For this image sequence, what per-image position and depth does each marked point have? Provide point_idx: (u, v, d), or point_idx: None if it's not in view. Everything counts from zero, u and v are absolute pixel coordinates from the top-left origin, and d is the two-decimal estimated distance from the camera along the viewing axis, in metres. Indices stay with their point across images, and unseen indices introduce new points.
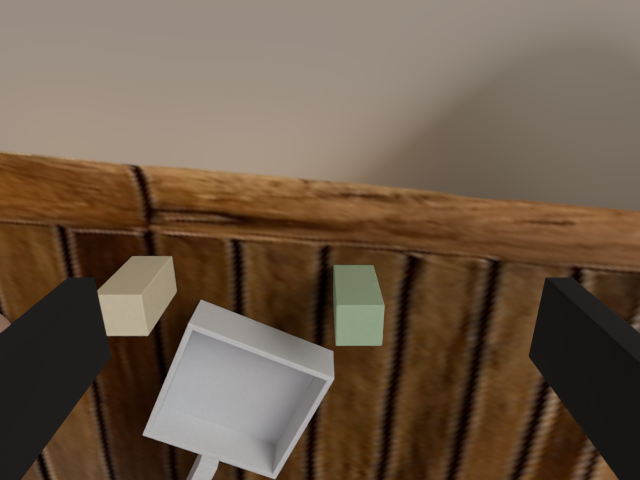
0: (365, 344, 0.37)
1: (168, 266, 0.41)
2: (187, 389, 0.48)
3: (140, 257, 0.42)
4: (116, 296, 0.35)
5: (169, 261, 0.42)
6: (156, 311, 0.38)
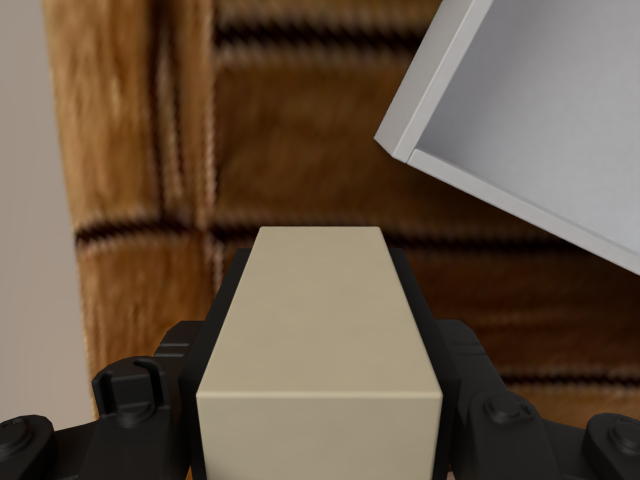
0: None
1: (271, 241, 0.13)
2: (618, 195, 0.19)
3: None
4: None
5: (259, 237, 0.13)
6: (365, 318, 0.09)
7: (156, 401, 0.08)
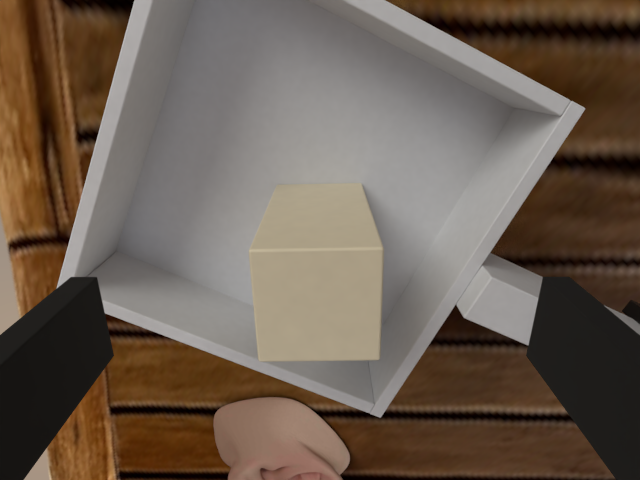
0: None
1: (284, 191, 0.19)
2: None
3: None
4: (258, 311, 0.13)
5: (276, 189, 0.19)
6: (344, 222, 0.15)
7: None
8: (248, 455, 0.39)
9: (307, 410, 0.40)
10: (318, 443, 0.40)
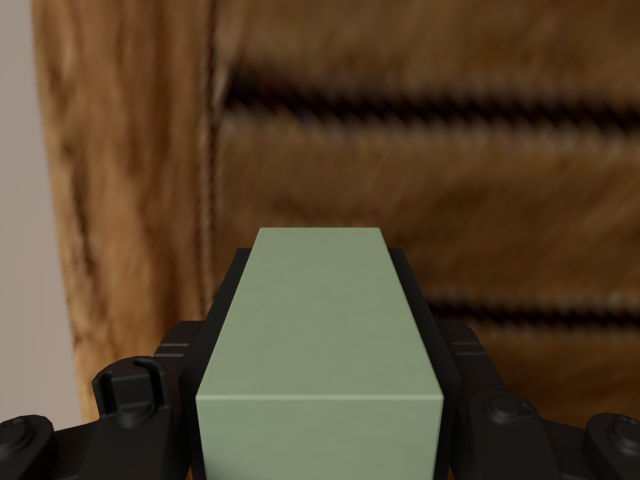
0: (427, 464, 0.07)
1: None
2: None
3: None
4: None
5: None
6: None
7: (156, 401, 0.08)
8: None
9: None
10: None
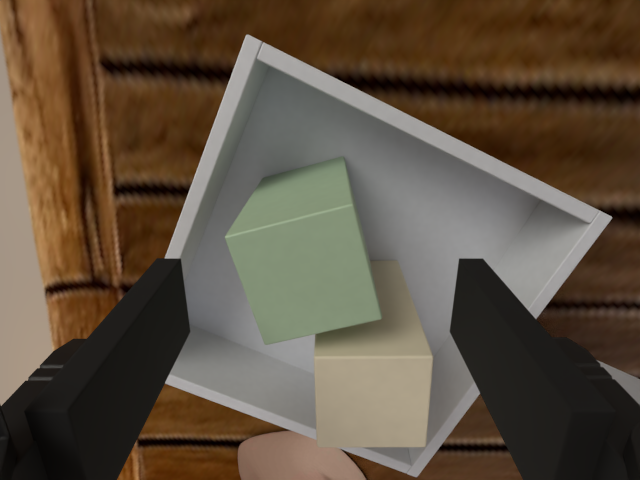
0: (359, 249, 0.13)
1: None
2: None
3: None
4: (319, 406, 0.15)
5: None
6: (393, 320, 0.16)
7: None
8: None
9: None
10: (339, 474, 0.42)
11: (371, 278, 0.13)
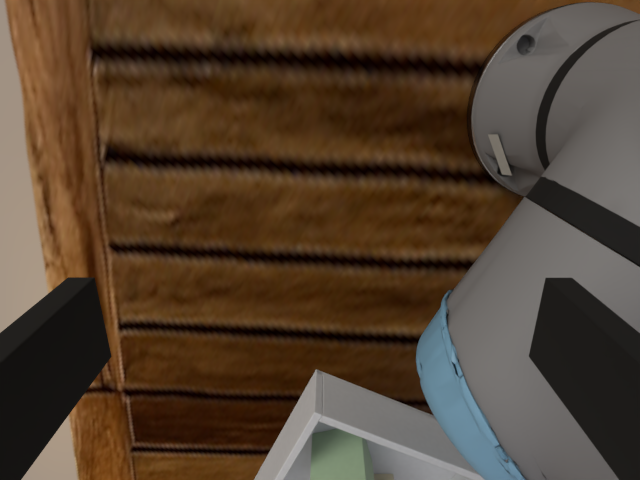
0: None
1: None
2: None
3: None
4: None
5: None
6: None
7: None
8: None
9: None
10: None
11: None
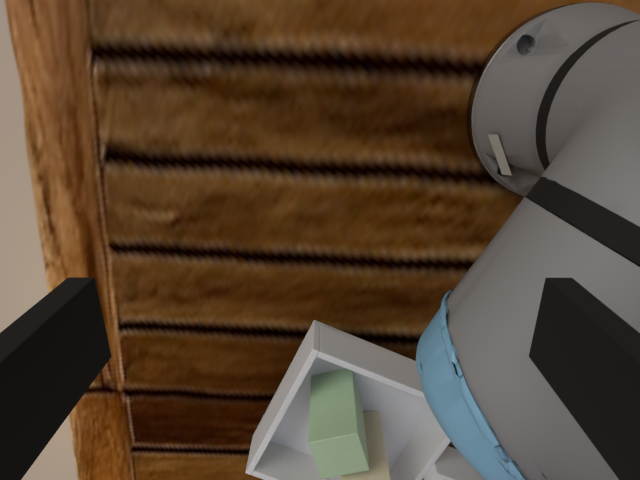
0: (360, 447, 0.33)
1: None
2: None
3: None
4: None
5: None
6: (375, 459, 0.37)
7: None
8: None
9: None
10: None
11: (364, 456, 0.34)
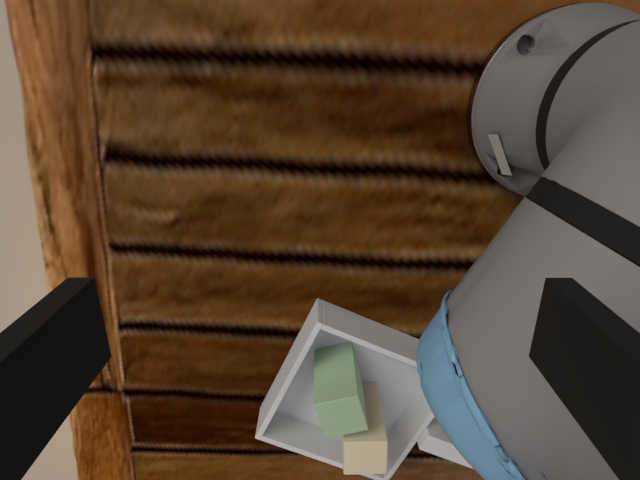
0: (360, 408, 0.37)
1: None
2: None
3: None
4: (345, 459, 0.39)
5: None
6: (373, 422, 0.41)
7: None
8: None
9: None
10: None
11: (364, 417, 0.38)
